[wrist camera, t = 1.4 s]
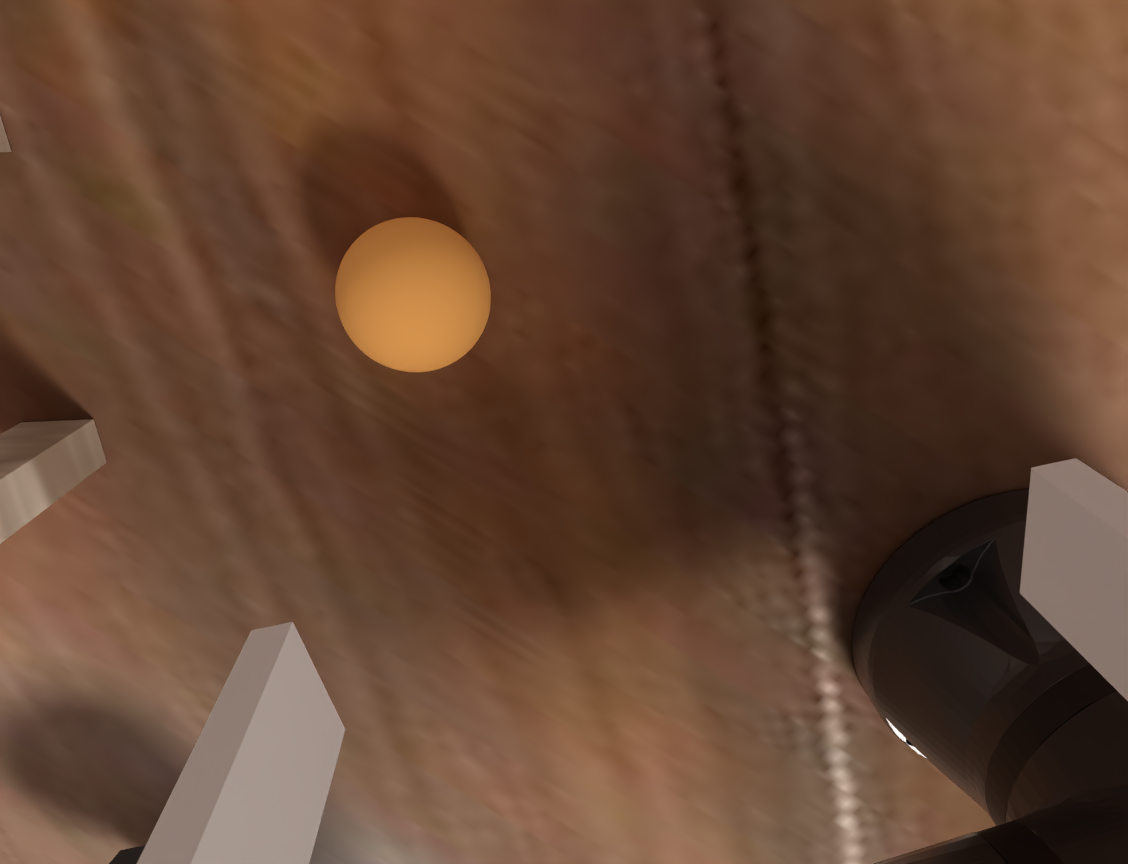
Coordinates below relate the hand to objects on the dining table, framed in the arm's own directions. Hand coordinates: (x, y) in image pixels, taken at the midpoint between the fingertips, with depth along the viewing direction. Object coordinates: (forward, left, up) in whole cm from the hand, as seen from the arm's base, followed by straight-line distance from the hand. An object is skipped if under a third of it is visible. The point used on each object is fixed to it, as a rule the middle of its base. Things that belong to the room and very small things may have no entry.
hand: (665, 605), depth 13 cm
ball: (+7, -3, -15) cm, 17 cm away
